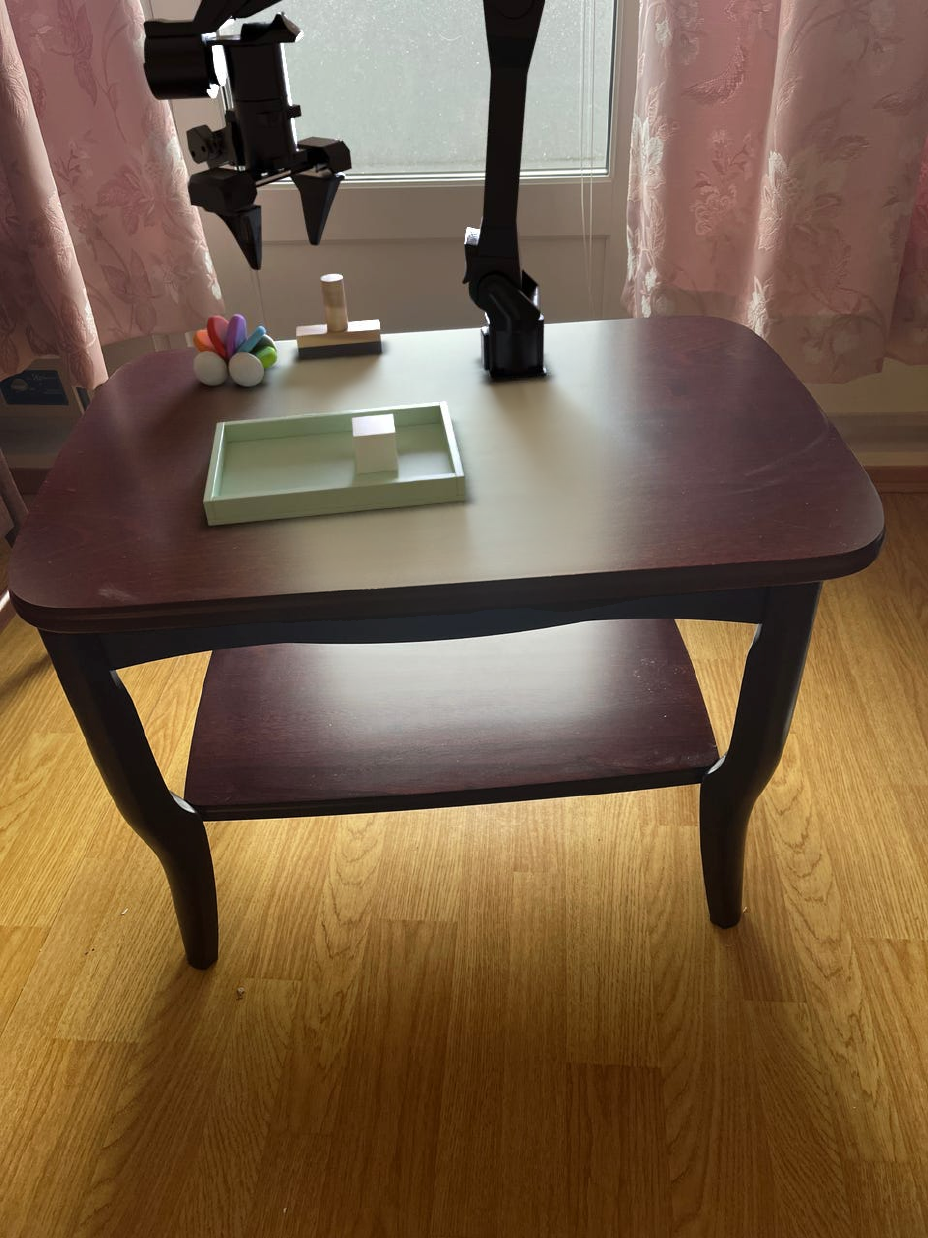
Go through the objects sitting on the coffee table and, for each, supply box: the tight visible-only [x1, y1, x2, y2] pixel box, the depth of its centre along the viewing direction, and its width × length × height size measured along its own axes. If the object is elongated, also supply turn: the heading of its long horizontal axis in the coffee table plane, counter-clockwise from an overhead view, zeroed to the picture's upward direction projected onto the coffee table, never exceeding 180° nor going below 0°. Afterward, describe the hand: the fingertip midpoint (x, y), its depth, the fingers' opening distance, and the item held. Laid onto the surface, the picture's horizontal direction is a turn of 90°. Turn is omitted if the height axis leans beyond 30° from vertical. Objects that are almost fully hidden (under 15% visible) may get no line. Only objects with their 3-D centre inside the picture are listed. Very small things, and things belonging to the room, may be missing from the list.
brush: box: [295, 273, 383, 361], centre depth 113 cm, size 3×10×9 cm, turn 97°
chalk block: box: [352, 414, 399, 474], centre depth 92 cm, size 4×4×4 cm
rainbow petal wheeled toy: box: [192, 313, 278, 388], centre depth 110 cm, size 8×10×7 cm
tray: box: [202, 401, 467, 527], centre depth 92 cm, size 24×16×3 cm, turn 97°
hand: (286, 256), depth 104 cm, fingers open, 9 cm apart
